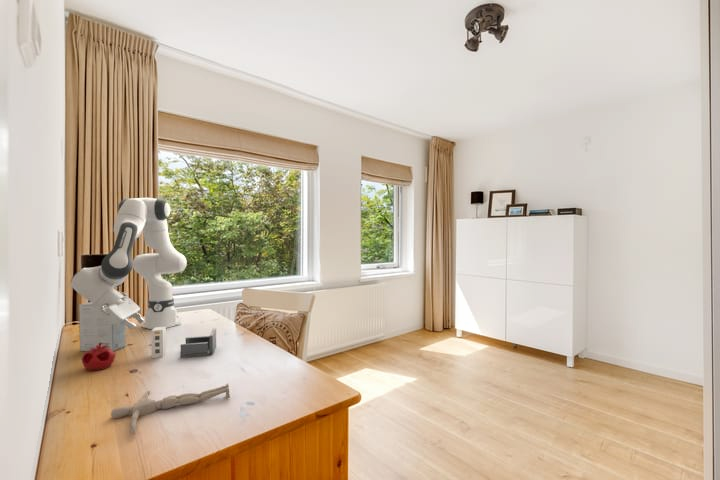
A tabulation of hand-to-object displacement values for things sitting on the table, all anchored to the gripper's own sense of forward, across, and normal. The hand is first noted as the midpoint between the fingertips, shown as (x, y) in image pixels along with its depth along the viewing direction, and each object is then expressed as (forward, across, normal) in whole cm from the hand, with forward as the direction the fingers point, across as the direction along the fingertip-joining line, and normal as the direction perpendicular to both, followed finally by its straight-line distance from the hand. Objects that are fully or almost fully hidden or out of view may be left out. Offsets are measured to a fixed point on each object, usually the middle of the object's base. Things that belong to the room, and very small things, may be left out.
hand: (138, 324), depth 141 cm
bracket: (+25, 0, -6) cm, 26 cm away
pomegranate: (+2, -8, +17) cm, 19 cm away
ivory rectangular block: (+14, 0, +4) cm, 15 cm away
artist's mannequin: (+27, -48, -7) cm, 55 cm away
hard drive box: (-4, +16, +23) cm, 28 cm away
